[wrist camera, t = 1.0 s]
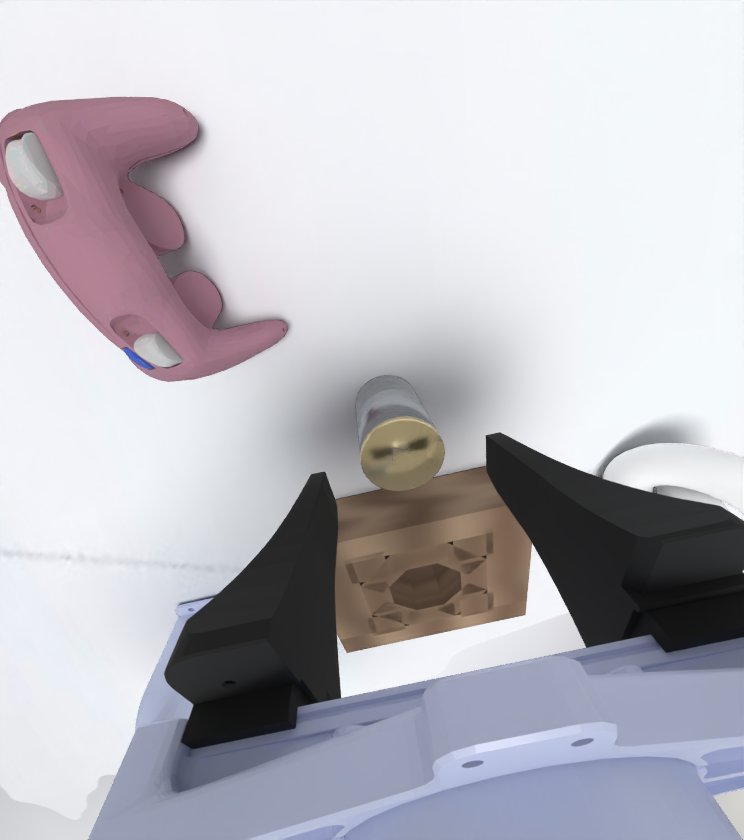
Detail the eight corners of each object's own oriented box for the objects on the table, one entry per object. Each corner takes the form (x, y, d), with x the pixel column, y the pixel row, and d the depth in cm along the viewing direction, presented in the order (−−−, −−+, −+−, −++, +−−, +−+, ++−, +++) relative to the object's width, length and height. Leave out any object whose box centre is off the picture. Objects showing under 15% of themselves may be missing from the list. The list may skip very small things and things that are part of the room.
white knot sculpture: (568, 554, 29) (653, 664, 21) (537, 474, 23) (637, 582, 16) (689, 504, 27) (832, 605, 19) (686, 404, 21) (885, 487, 14)
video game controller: (135, 148, 14) (-103, 114, 8) (196, 93, 11) (-68, 0, 6) (243, 350, 18) (136, 410, 13) (300, 336, 16) (201, 401, 11)
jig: (346, 606, 29) (346, 652, 26) (301, 507, 23) (294, 552, 19) (503, 572, 29) (525, 614, 26) (505, 461, 22) (535, 499, 19)
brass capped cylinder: (363, 436, 20) (370, 498, 15) (348, 383, 18) (352, 433, 13) (420, 423, 20) (447, 480, 15) (411, 368, 18) (440, 412, 13)
